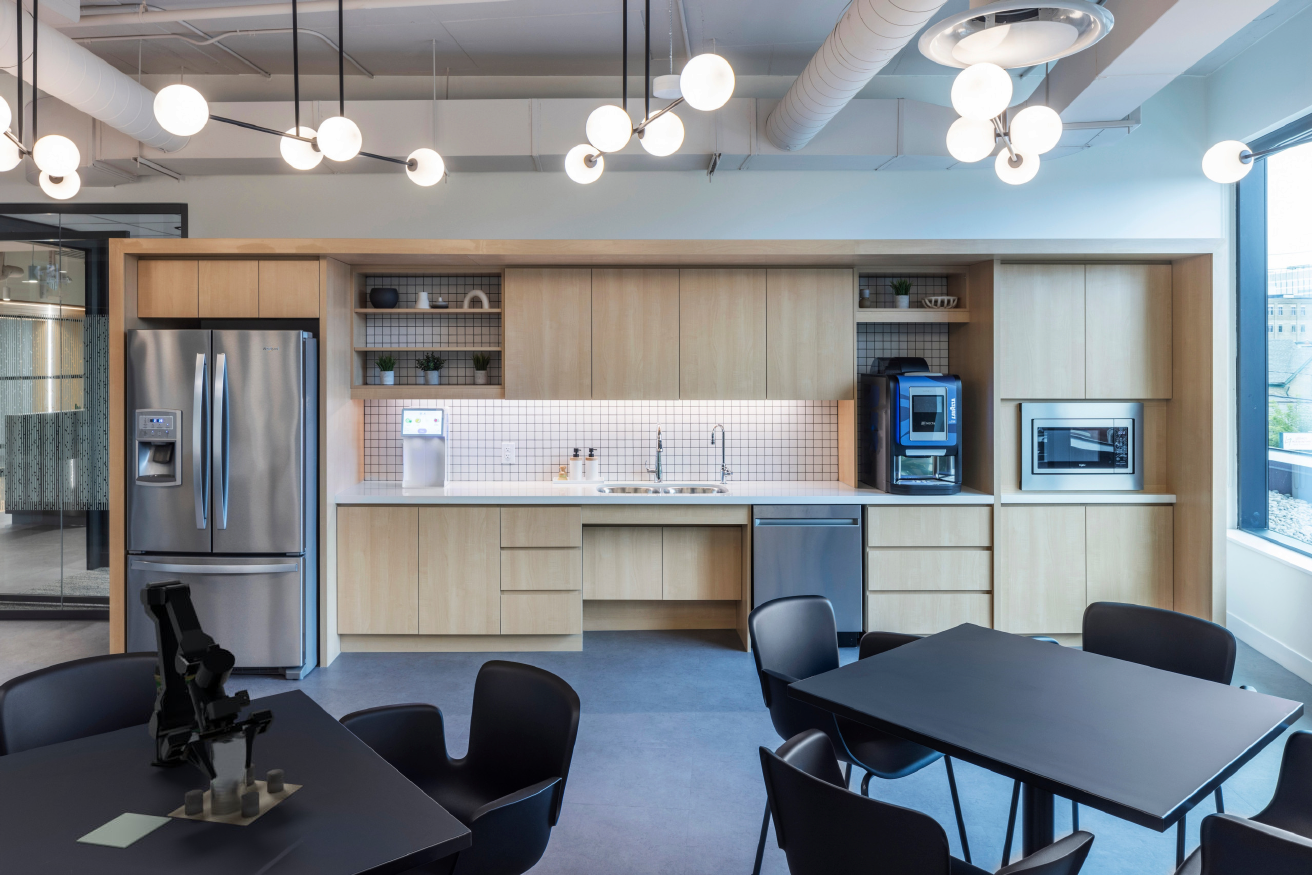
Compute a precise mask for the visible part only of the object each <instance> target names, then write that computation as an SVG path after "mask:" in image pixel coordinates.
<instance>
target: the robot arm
mask: <svg viewBox="0 0 1312 875" xmlns="http://www.w3.org/2000/svg"><path fill="white" fill-rule="evenodd" d="M191 594H192V592H191V587H190V582H189V583H188V582H187V583H183V582H181V580H180V579H179V578H176V579H170V580H162V581H161V580H160V581H154V582H147V583H146V584H145V588H144V587H143V588H140V591H139V599H140V604H141V605H142V606H143V609H144V613H145V614H146V616H147V617H148V618H149V619H150V620H151V621H152V622H153V623H154V629H155V638H156V650H157V655H158V656H157V657H158V660H159V668H160V677H161V687H162V690H161V692H160V694H159V696H158V698H157V697H156V700H155V702H154V711H153V712H152V715H151V717H150V720H149V722H148V723H147V724H148V732H149V735H150V736H151V737H152V738H153V740H156V741H155V742H156V743H155V745H156V746H155V747H156V749H155V750H156V758H155V759H153V760H151V761H150V765H154V766H155V765H156V766H164V767H177V766H179V765H181V764H183V763H186V762H187V761H188V762H189V763H190V764H192V765H193V766H195V767H196V768H197V769H199V771H200V772H202V774H204V775H205V776H206V777H207V778H208V779H209V781H210V780H213V779H214V773H213V768H212V766H211V763H210V757H209V756H208V755H209V754H208V752H207V749H206V744H205V743H206V742H209V741H211V740H213V739H214V738H217V737H219V736H222V735H227V734H244V735H245V736H246V768H247V769H250V767H251V764H252V755H253V754H252V753H253V743H254V740H255V739H256V738H257V737H258V736H261V735H265V734H266V733H267V732H269V729H270V728H271V726H272V725H273V722H274V721H275V719H276V718H275V715H274V712H273V711H272V709H270V708H268V707H267V708H264V709H260V710H256V711H255V710H254V711H252V712H251V711H250V712H249V714H248V716H247V717H246V720H243V721H242V720H241V721H239V722H235V720H237V719H238V718H239V714H238V713H241V712H242V709H243V708H248V706H250V705H251V698H250V694H249V691H248V689H242V690H239V691H237V692H235V693H234V696H230V695H229V694H226V690H225V687H224V685H225V684H226V683H227V681H228V679H229V678H230V676H231V672H232V671H233V668H234V666H235V664H236V656H235V655H234V654H233V653H232V652H231V651H230V650H228V649H227V648H221V646H220V644H219V643H216V641H215V640H214V638H213V636H210V635H209V634H207V633H205V632H204V631H203V629H202V626H201V622H200V620H199V617H198V614H197V611H196V609H195V607H194V604H193V601H192V598H191V596H192V595H191ZM192 675H196V676H195V677H194V678H193V679H192V680H191V681H190V683H189V685H187V684H186V679H185V677H188V676H192ZM199 727H200V731H201V732H199V733H198V732H195V733H192V730H195V729H199ZM159 728H160V729H159Z"/></svg>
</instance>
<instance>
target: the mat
mask: <svg viewBox="0 0 1312 875" xmlns="http://www.w3.org/2000/svg"><path fill="white" fill-rule="evenodd" d="M255 766H256V765H255V763H251V767H250V769H247V768H246V793H245V794H243V795H242V796H241V810H240V811H238V812H236V813H233V814H229V815H221V816H218V815H213V814H211V809H210V789H209V790H207V791H205V792H204V790H203V789H192V790H190V791H187V792H186V793H185V794H184V805H182V806H180V807H179V808H176V809H175V810H174V811H172V812H171V813H168V814H167V815H166V816H167V817H171V818H172V817H173V818H182V819H189V820H198V821H205V822H206V821H207V822H215V823H222V824H231V825H238V826H248V825H250V824H251V823H253V822H254V821H255V820H257V819H258V818H259V817H261V816H262V815H264V814H265V813H267V812H269V811H270V810H271V809H272V808H274V807H275V806H277V805H278V804H280V803H281V802H282V801H284V800H285V799H286V798H288V797H290V796H291V795H293V793H296V792H297V791H299V790H300V789H301V788H302V787H303V785H300V784H291V783H285V780H284V779H285V777H284V776H285V771H284V769H282V768H281V769H280V768H279V769H278V768H276V769H272V770H269V771H268V772H267V773H266V781H265V780H263V781H262V780H256V771H255V770H256V769H255Z"/></svg>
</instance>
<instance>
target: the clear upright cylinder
mask: <svg viewBox="0 0 1312 875" xmlns="http://www.w3.org/2000/svg"><path fill="white" fill-rule="evenodd" d="M209 760H210V763H211V766H212V768H213V773H214V779H213V780H210V779H209V781H210V783H209V784H210V785H209V786H210V787H209V788H210V789H209V790H210V809H211V814H213V815H218V816H221V815H229V814H233V813H236V812H238V811H240V810H241V796H242V795H243V794H245V793H246V736H245V735H244V734H240V733H235V734H227V735H222V736H219V737H217V738H214V739H213V740H210V742H209Z"/></svg>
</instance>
